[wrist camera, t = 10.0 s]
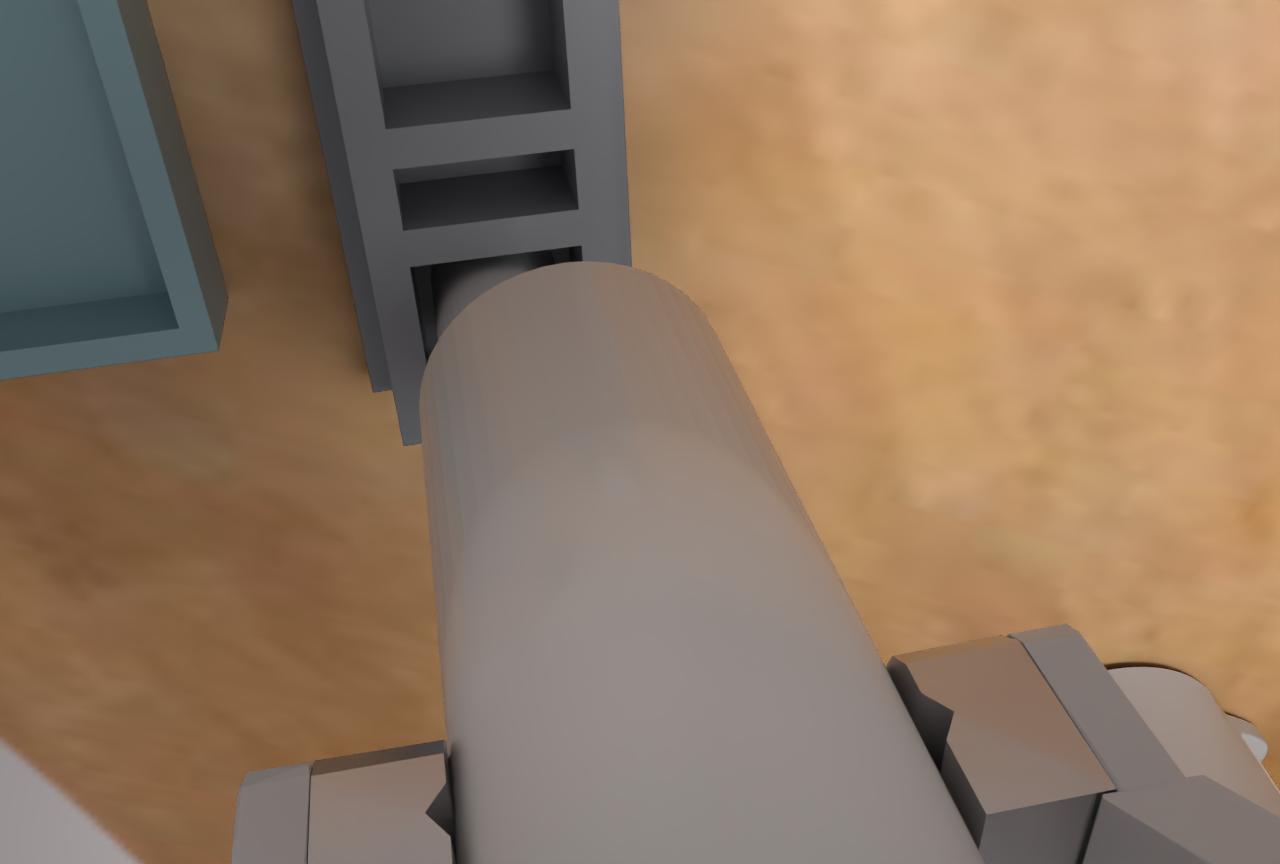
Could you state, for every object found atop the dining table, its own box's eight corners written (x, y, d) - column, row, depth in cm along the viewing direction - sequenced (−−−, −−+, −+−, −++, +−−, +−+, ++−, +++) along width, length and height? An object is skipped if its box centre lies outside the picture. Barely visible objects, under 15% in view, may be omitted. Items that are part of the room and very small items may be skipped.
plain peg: (561, 325, 35) (633, 567, 26) (440, 341, 34) (471, 594, 25) (551, 213, 33) (625, 434, 24) (422, 229, 32) (449, 461, 23)
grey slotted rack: (630, 339, 37) (656, 408, 33) (372, 375, 35) (374, 450, 32) (579, -611, 24) (615, -648, 20) (170, -603, 23) (141, -639, 19)
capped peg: (726, 498, 15) (1275, 1796, 6) (442, 544, 14) (584, 2033, 5) (727, 241, 13) (1572, 1647, 4) (395, 283, 12) (503, 2006, 3)
